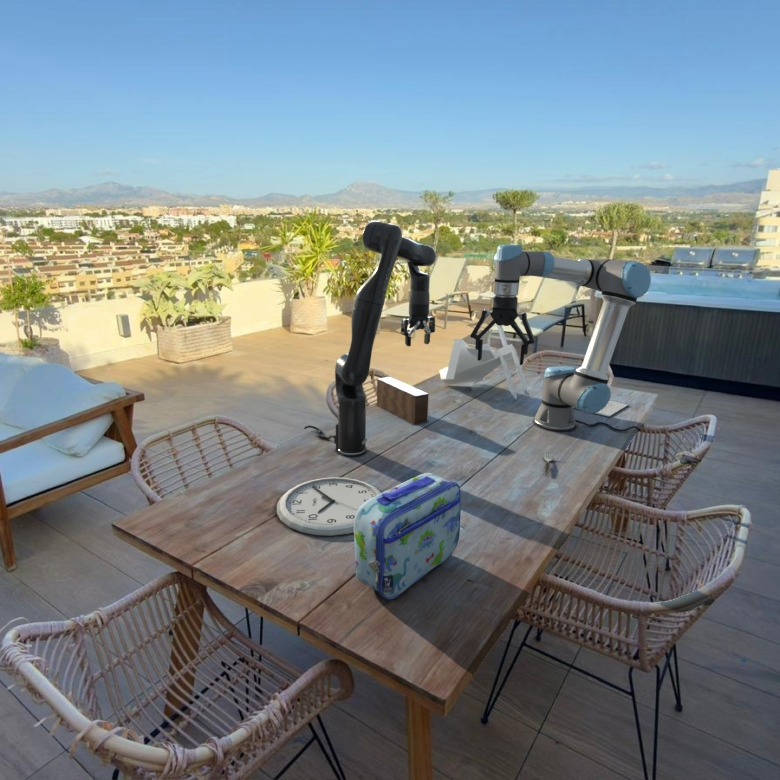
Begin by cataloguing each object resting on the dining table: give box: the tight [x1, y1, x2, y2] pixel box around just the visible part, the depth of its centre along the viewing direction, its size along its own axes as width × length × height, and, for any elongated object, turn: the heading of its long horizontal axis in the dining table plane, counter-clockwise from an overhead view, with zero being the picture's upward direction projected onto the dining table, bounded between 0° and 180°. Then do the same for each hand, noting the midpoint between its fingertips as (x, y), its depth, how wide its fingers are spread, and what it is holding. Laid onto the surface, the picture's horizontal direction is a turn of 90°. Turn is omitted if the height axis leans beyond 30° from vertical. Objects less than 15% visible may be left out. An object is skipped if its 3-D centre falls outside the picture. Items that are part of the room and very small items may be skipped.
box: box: [376, 376, 429, 426], centre depth 213 cm, size 28×6×12 cm, turn 33°
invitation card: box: [575, 400, 629, 418], centre depth 226 cm, size 21×1×15 cm
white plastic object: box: [438, 323, 531, 400], centre depth 245 cm, size 37×45×31 cm
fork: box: [544, 449, 554, 474], centre depth 169 cm, size 3×16×2 cm, turn 160°
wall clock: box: [276, 476, 383, 537], centre depth 142 cm, size 30×2×30 cm
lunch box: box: [353, 472, 462, 600], centre depth 112 cm, size 26×11×21 cm, turn 134°
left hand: (417, 344), depth 198 cm, fingers open, 8 cm apart
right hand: (500, 361), depth 170 cm, fingers open, 13 cm apart
